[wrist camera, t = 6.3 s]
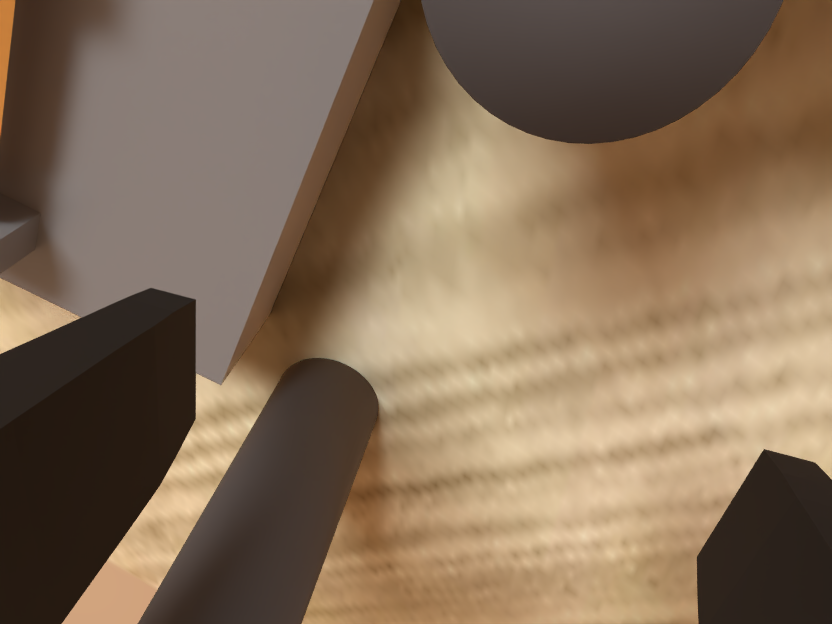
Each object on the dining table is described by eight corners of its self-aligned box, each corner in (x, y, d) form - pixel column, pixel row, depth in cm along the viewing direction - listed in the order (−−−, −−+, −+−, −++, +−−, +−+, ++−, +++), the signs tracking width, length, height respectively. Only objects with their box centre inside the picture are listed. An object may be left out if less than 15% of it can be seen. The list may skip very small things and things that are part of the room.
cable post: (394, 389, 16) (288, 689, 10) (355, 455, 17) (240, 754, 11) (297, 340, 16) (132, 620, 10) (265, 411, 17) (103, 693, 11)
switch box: (423, -55, 11) (361, -24, 8) (269, 315, 16) (189, 430, 12) (-123, -357, 10) (-427, -452, 7) (-123, 120, 15) (-313, 189, 12)
